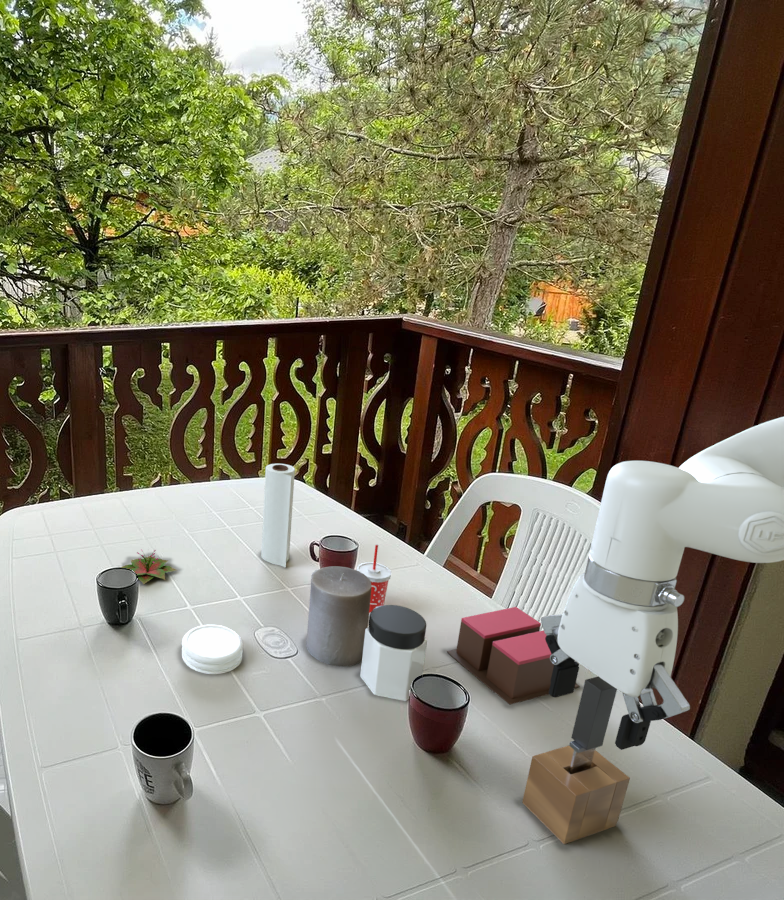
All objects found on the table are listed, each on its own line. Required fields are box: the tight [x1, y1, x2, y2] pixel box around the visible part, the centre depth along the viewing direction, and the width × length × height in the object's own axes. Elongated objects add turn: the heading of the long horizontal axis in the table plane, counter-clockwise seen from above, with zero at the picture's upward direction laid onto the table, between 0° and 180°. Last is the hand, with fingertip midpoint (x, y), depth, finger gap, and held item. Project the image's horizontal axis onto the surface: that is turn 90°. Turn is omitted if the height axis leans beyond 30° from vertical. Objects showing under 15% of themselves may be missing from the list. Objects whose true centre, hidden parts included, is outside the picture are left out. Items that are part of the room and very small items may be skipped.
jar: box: [359, 604, 428, 702], centre depth 97 cm, size 9×8×12 cm
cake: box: [446, 606, 581, 705], centre depth 101 cm, size 14×14×8 cm
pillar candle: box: [306, 565, 372, 667], centre depth 105 cm, size 10×10×15 cm
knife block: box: [522, 744, 631, 845], centre depth 75 cm, size 8×6×8 cm
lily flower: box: [120, 548, 177, 585], centre depth 132 cm, size 12×12×5 cm
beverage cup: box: [356, 544, 392, 617], centre depth 116 cm, size 6×6×14 cm
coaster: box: [181, 624, 244, 675], centre depth 104 cm, size 10×10×4 cm
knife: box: [569, 676, 618, 774], centre depth 73 cm, size 4×2×19 cm, turn 108°
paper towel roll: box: [260, 463, 296, 568], centre depth 134 cm, size 7×6×21 cm
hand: (592, 717), depth 71 cm, fingers open, 7 cm apart
